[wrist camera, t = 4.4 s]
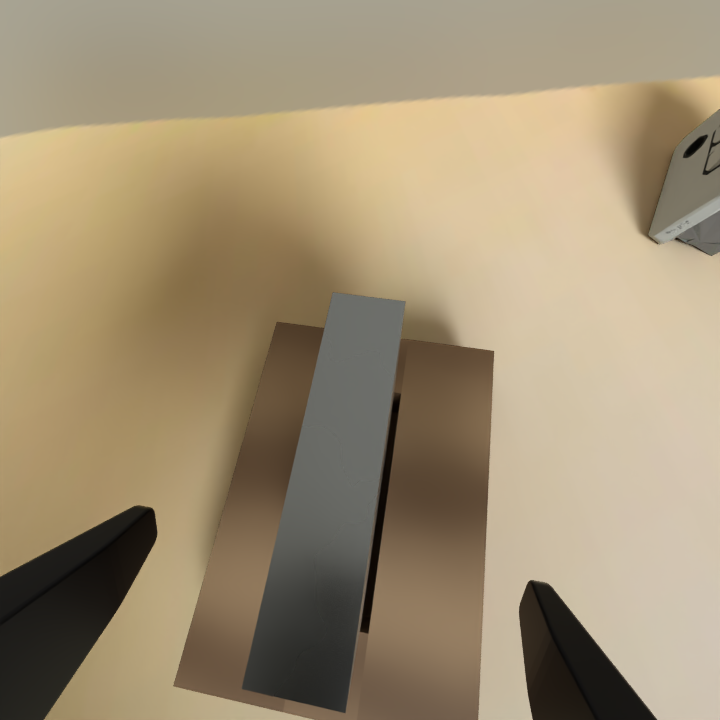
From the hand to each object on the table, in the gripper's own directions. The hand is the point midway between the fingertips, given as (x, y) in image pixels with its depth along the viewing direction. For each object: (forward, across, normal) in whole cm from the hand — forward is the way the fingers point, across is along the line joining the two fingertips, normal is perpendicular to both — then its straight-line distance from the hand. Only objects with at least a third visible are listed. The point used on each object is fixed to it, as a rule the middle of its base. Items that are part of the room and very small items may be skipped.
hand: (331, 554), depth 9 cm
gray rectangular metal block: (+8, 0, +5) cm, 9 cm away
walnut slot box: (+8, 0, +6) cm, 10 cm away
